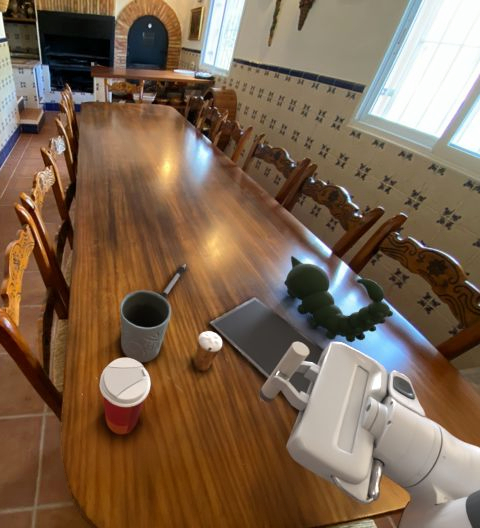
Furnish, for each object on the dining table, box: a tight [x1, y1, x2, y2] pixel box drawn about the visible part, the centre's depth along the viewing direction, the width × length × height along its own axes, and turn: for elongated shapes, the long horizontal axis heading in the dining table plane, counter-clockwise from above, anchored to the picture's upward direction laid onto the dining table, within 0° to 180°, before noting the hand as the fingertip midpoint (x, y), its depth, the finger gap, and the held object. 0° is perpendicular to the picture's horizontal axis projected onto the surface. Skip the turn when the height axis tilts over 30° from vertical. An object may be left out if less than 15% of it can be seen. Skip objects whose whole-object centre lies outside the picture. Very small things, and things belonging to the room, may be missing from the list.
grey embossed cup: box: [119, 290, 172, 363], centre depth 62 cm, size 10×10×12 cm
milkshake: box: [193, 330, 223, 372], centre depth 59 cm, size 4×5×10 cm
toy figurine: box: [283, 255, 394, 343], centre depth 70 cm, size 9×19×25 cm
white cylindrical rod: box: [258, 342, 309, 403], centre depth 44 cm, size 2×2×13 cm
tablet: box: [208, 296, 324, 400], centre depth 67 cm, size 24×17×1 cm
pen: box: [161, 263, 187, 299], centre depth 82 cm, size 1×16×1 cm, turn 150°
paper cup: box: [98, 357, 151, 435], centre depth 49 cm, size 8×8×14 cm
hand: (277, 367), depth 44 cm, fingers closed on white cylindrical rod, 2 cm apart
